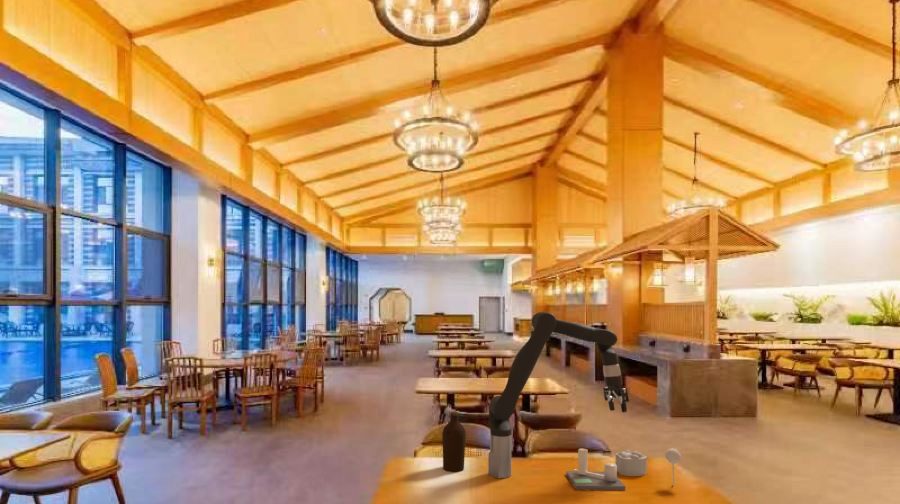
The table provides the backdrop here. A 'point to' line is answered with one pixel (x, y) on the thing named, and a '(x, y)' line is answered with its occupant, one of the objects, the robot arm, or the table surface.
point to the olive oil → (453, 445)
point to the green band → (582, 480)
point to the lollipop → (673, 457)
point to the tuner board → (594, 482)
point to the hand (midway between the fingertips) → (618, 411)
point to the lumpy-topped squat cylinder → (631, 463)
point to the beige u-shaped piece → (609, 473)
